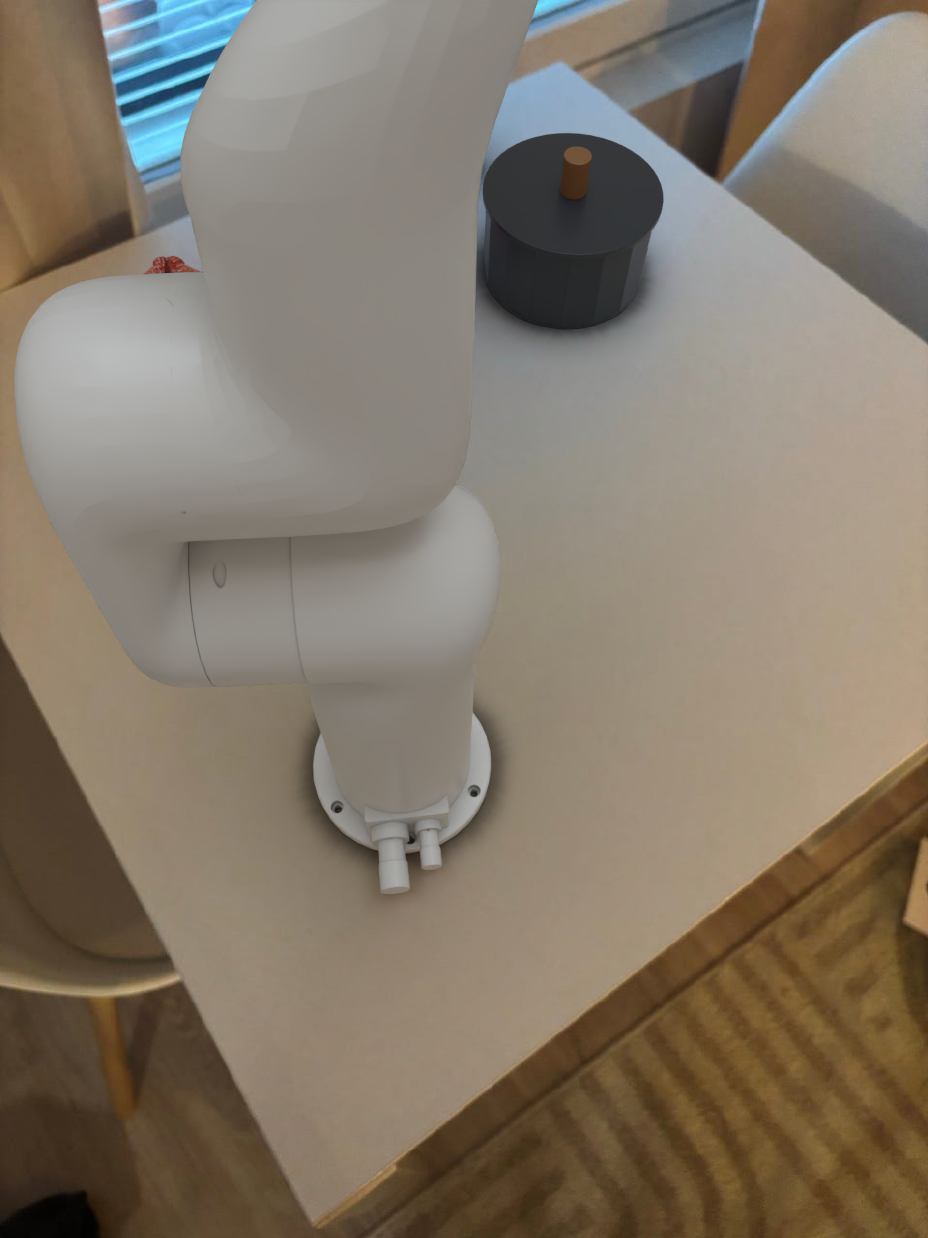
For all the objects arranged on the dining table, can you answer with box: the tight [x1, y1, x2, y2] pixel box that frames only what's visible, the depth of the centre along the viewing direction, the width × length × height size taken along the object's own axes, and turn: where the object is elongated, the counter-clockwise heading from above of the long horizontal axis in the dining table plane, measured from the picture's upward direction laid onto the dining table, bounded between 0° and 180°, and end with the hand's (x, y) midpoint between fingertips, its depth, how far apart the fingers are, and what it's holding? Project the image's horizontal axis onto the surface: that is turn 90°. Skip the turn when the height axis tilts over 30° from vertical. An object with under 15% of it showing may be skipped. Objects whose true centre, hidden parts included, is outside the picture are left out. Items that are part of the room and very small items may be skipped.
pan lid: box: [481, 132, 665, 259], centre depth 82 cm, size 16×16×5 cm
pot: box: [483, 210, 653, 330], centre depth 87 cm, size 15×15×8 cm
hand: (376, 142), depth 77 cm, fingers closed on pepper mill, 6 cm apart
